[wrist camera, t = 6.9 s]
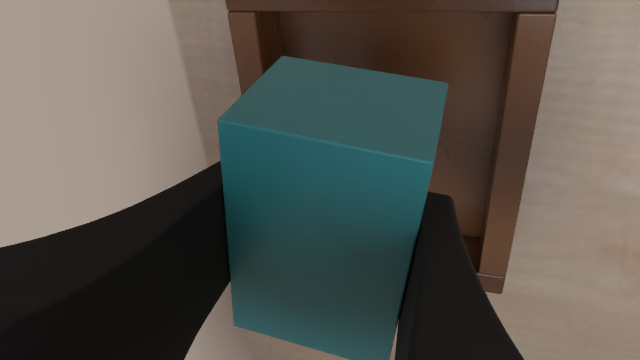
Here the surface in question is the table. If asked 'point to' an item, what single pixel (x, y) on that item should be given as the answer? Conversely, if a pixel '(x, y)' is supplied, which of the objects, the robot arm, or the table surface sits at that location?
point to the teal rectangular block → (327, 201)
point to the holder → (439, 65)
